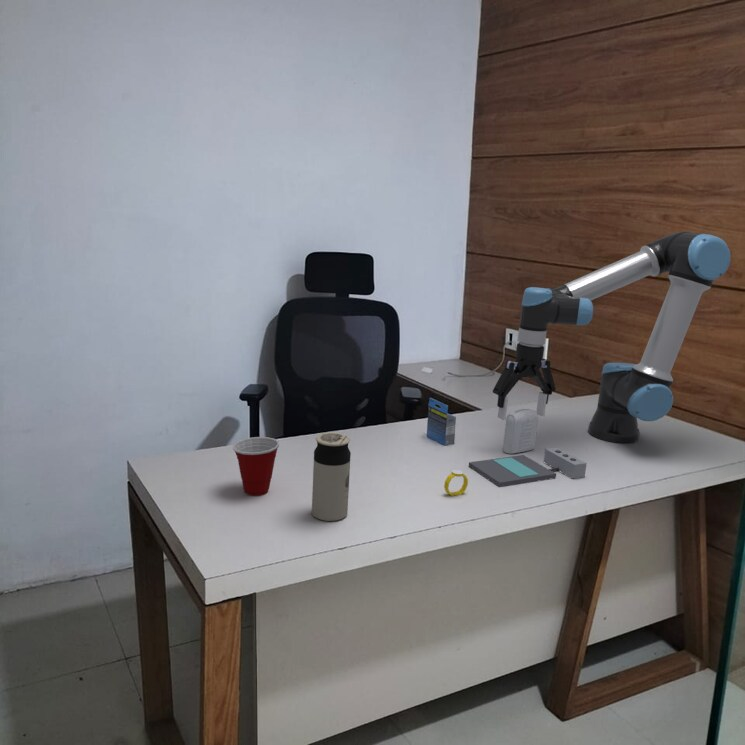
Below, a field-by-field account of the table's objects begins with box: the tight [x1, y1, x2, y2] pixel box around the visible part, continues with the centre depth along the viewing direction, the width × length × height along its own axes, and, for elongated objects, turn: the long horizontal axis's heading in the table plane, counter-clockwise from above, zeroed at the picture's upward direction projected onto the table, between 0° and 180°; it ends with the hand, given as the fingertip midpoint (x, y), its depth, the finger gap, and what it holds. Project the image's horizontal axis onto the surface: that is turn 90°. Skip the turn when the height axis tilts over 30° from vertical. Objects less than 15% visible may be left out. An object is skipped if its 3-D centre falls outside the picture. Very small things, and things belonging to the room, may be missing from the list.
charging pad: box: [468, 454, 557, 488], centre depth 188 cm, size 18×14×1 cm
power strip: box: [543, 447, 587, 479], centre depth 191 cm, size 9×12×4 cm
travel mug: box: [311, 431, 352, 522], centre depth 156 cm, size 8×8×18 cm
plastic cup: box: [232, 436, 280, 497], centre depth 166 cm, size 11×11×12 cm
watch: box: [443, 469, 469, 497], centre depth 172 cm, size 6×3×6 cm, turn 118°
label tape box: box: [426, 397, 457, 446], centre depth 207 cm, size 9×4×12 cm, turn 34°
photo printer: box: [502, 408, 539, 455], centre depth 203 cm, size 10×4×12 cm, turn 123°
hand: (521, 416), depth 202 cm, fingers open, 13 cm apart
